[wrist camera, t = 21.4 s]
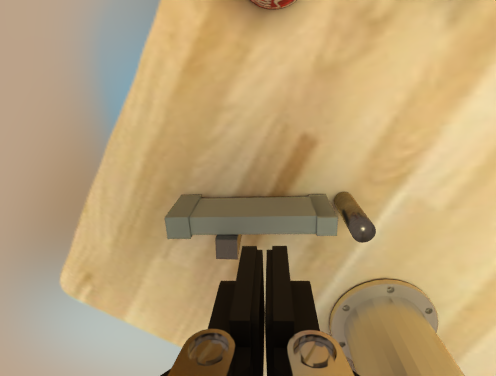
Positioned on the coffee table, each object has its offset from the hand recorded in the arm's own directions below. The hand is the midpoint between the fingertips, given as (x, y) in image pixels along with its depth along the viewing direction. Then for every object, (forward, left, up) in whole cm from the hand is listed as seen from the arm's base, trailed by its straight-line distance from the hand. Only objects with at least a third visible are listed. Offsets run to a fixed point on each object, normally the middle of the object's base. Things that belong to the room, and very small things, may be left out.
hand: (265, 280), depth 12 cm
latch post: (-8, +4, -22) cm, 24 cm away
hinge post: (-5, -8, -22) cm, 24 cm away
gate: (-6, +1, -22) cm, 23 cm away
